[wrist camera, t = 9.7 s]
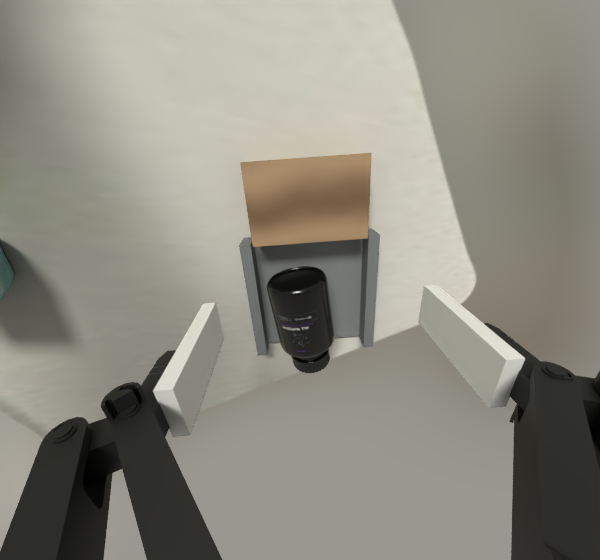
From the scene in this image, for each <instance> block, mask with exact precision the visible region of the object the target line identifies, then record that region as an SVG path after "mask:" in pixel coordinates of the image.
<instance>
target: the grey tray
mask: <svg viewBox="0 0 600 560" xmlns="http://www.w3.org/2000/svg"><path fill="white" fill-rule="evenodd" d="M379 240H380V235H379V234H378V233H377V232H376V231H374V230H373V229H368V238H366V239H353V240H340V241H326V242H313V243H299V244H286V245H273V246H259V247H253V245H252V238H244V239H243V240H242V242H241V243H240V245H239V247H240V253H241V259H242V264H243V270H244V276H245V282H246V288H247V294H248V300H249V306H250V311H251V317H252V323H253V329H254V335H255V341H256V347H257V352H258V355H266V354H267V351H268V343H273V342H280V340H279V336H278V332H277V328H276V324H275V320H274V316H273V312H272V308H271V304H270V300H269V296H268V291H267V284H268V281H269V280H270V278H271V277H272V276H274V275H275V274H277V273H279V272H281V271H283V270H286V269H289V268H294V267H301V266H310V267H316V268H319V269H321V270H322V271H323V272H324V273H325V274H326V276H327V281H328V288H329V296H330V303H331V311H332V318H333V326H334V338H338V337H351V336H359V337H360V339H361V342H362V344H363V346H364V347H369V346H373V334H374V319H375V303H376V287H377V272H378V256H379Z"/></svg>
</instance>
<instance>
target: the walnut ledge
mask: <svg viewBox="0 0 600 560" xmlns="http://www.w3.org/2000/svg"><path fill="white" fill-rule="evenodd" d="M240 164H241V170H242V177H243V184H244V191H245V197H246V204H247V211H248V218H249V224H250V231H251V238H252V245H253V247H259V246H273V245H286V244H299V243H313V242H326V241H340V240H353V239H366V238H368V220H369V197H370V175H371V153H364V154H350V155H337V156H323V157H309V158H295V159H282V160H268V161H254V162H241V163H240Z"/></svg>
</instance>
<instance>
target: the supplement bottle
mask: <svg viewBox="0 0 600 560" xmlns="http://www.w3.org/2000/svg"><path fill="white" fill-rule="evenodd" d="M267 291H268V296H269V300H270V304H271V308H272V312H273V316H274V320H275V324H276V328H277V332H278V336H279V340H280V343H281V346H282V348H283V349H284V351H285V352H286V353H288V354H289V355H291V357H292V359H293V363H294V365H295V367H296V368H297V369H298V370H299V371H302V372H305V373H314V372H318V371H321V370H322V369H324V367H326V365H327V364H328V362H329V359H330V356H329V348H330V346H331V345H332V343H333V341H334V326H333V318H332V311H331V303H330V296H329V288H328V281H327V276H326V274H325V273H324V272H323V271H322V270H321V269H319V268H316V267H310V266H301V267H294V268H289V269H286V270H283V271H281V272H279V273H277V274H275V275H274V276H272V277H271V278H270V280H269V281H268V284H267Z"/></svg>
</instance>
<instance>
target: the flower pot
mask: <svg viewBox="0 0 600 560" xmlns="http://www.w3.org/2000/svg"><path fill="white" fill-rule="evenodd" d="M13 278H14V272H13V271H12V269H11V267H10V265H9V263H8V261H7V259H6V257H5V255H4V253H3V251H2V249H1V247H0V299H1V298H2V297H3V296H4V295H5V294H6V293H7V291H8V290H9V288H10V286H11V284H12V281H13Z"/></svg>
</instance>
